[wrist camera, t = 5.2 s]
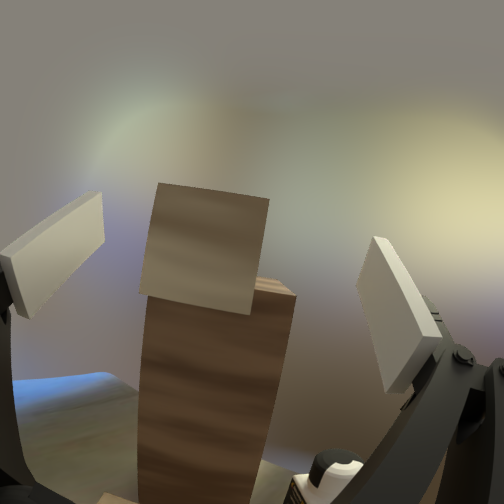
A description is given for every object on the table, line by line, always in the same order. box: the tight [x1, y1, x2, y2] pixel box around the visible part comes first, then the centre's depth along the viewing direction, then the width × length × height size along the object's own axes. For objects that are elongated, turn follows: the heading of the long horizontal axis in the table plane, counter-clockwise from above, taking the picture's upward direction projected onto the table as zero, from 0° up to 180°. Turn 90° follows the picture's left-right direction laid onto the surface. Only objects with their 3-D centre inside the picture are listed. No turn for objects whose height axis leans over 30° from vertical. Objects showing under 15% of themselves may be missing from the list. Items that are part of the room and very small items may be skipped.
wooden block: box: [139, 183, 269, 315], centre depth 23 cm, size 26×4×4 cm, turn 0°
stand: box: [137, 276, 297, 504], centre depth 29 cm, size 18×10×30 cm, turn 0°
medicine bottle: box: [283, 449, 364, 504], centre depth 27 cm, size 7×7×12 cm
